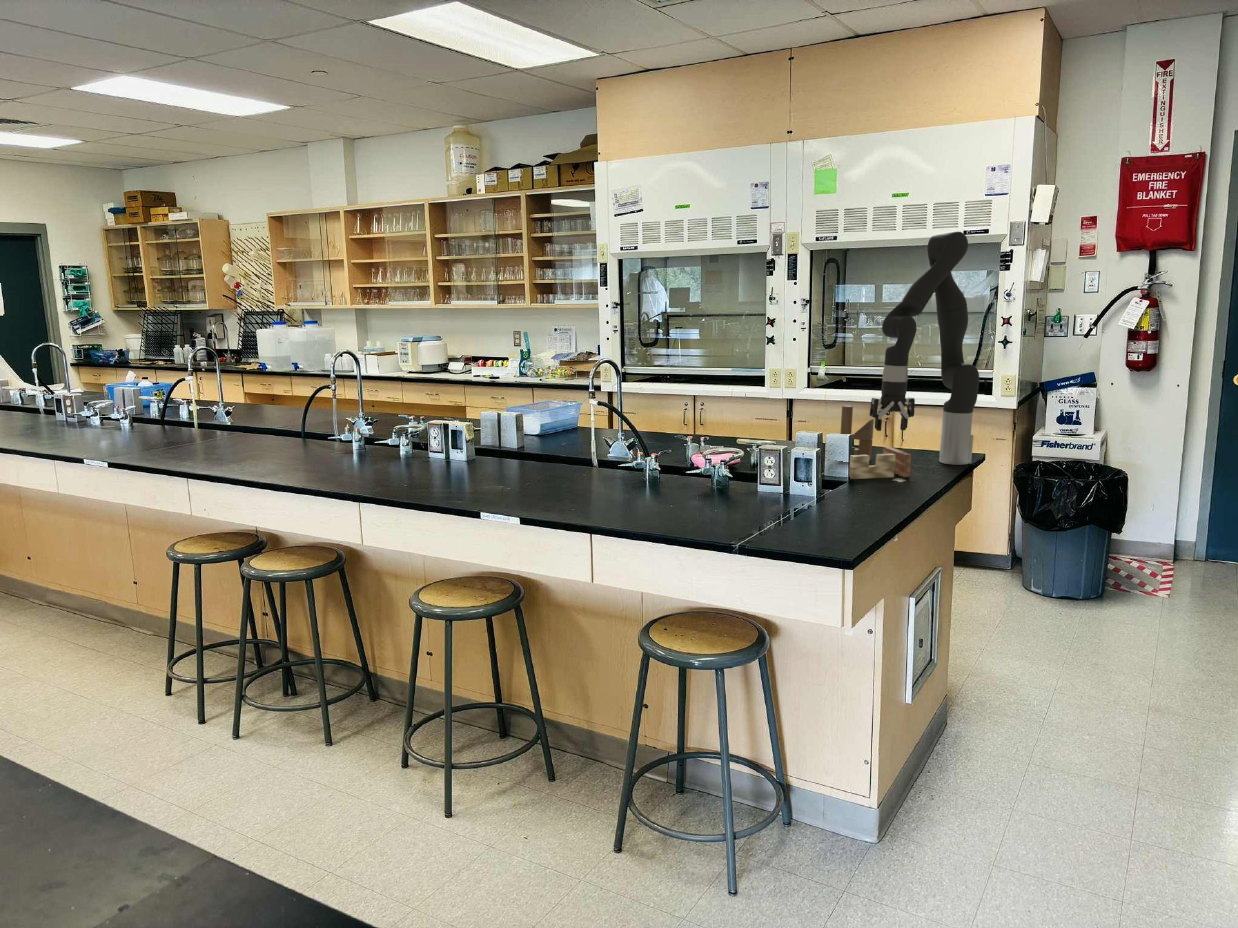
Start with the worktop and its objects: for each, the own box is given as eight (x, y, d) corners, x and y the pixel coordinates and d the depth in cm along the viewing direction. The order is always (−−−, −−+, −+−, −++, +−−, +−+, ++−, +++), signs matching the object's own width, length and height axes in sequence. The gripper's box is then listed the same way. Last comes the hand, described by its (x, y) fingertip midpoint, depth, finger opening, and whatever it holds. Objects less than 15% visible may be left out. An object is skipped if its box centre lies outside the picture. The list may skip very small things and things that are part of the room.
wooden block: (868, 461, 289) (871, 408, 286) (837, 458, 295) (839, 406, 292) (871, 460, 292) (874, 407, 289) (840, 456, 298) (843, 404, 295)
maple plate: (890, 475, 269) (891, 453, 267) (894, 477, 267) (895, 454, 265) (848, 477, 266) (850, 455, 265) (852, 479, 264) (853, 456, 262)
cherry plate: (888, 467, 280) (889, 446, 278) (909, 476, 267) (911, 454, 266) (882, 468, 279) (883, 447, 278) (903, 476, 267) (904, 454, 266)
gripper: (909, 378, 277) (904, 428, 280) (868, 378, 274) (864, 428, 277) (921, 380, 269) (917, 432, 273) (879, 381, 267) (875, 432, 270)
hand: (890, 430), depth 275 cm, fingers open, 8 cm apart
